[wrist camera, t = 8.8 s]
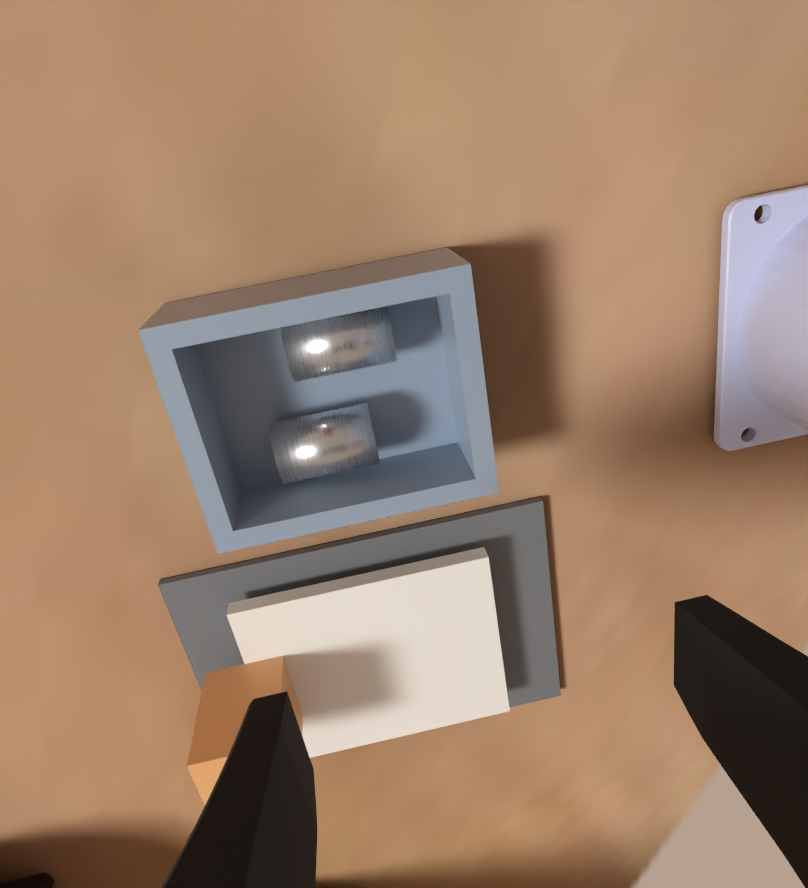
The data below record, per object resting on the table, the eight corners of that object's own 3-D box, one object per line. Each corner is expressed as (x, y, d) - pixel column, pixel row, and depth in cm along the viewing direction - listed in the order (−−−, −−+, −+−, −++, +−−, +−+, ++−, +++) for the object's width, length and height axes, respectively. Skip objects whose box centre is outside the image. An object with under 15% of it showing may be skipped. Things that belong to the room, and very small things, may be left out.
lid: (480, 538, 22) (520, 631, 18) (502, 688, 25) (540, 798, 21) (191, 602, 22) (162, 712, 17) (248, 747, 24) (235, 872, 20)
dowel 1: (383, 313, 19) (381, 282, 17) (397, 371, 18) (396, 346, 16) (287, 333, 18) (275, 304, 17) (299, 391, 18) (287, 368, 16)
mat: (540, 496, 22) (543, 500, 22) (557, 689, 26) (560, 695, 26) (159, 579, 21) (157, 584, 21) (235, 764, 25) (235, 771, 25)
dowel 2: (365, 393, 19) (370, 417, 18) (376, 447, 20) (382, 474, 18) (271, 413, 19) (268, 438, 17) (287, 466, 20) (284, 495, 18)
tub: (446, 247, 18) (470, 263, 15) (474, 448, 21) (499, 492, 18) (164, 303, 18) (138, 330, 15) (229, 500, 21) (217, 553, 18)
